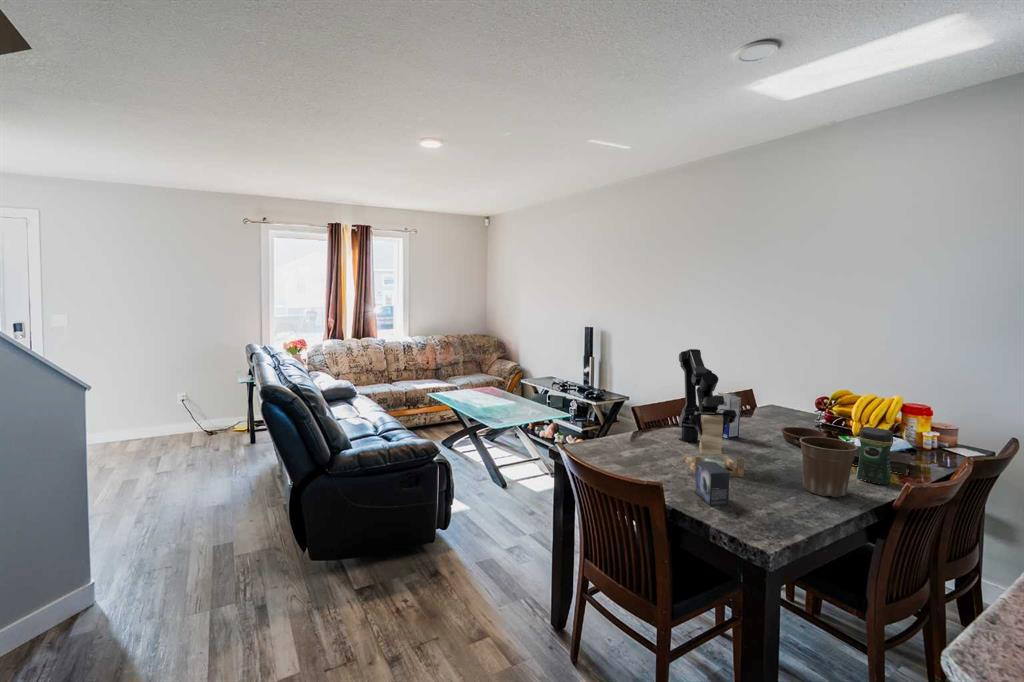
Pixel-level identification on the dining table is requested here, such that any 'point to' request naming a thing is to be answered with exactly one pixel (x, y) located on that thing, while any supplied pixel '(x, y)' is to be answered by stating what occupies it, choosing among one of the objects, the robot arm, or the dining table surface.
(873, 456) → the coffee jar
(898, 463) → the diary
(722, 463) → the offcut top
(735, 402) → the milk carton
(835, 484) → the plant pot
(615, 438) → the dining table surface
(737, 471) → the rack
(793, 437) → the dish
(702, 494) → the small box
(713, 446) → the pale wooden block
